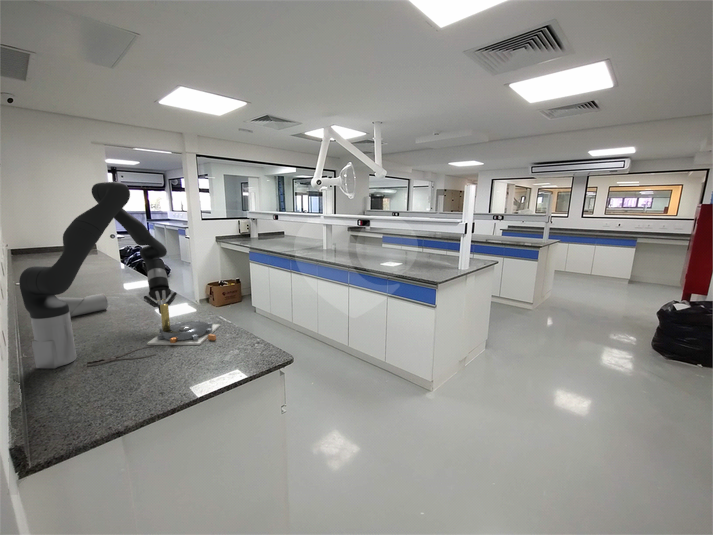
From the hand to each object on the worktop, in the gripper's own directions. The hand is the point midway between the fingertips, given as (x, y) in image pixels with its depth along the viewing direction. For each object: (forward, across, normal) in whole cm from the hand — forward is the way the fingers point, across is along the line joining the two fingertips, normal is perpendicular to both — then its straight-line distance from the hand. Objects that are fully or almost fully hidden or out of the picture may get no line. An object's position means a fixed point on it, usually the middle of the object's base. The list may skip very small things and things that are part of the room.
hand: (163, 313), depth 131 cm
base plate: (+13, +8, -2) cm, 16 cm away
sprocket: (+11, +7, -2) cm, 13 cm away
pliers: (+20, -14, -8) cm, 26 cm away
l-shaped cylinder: (-29, -32, +41) cm, 60 cm away
